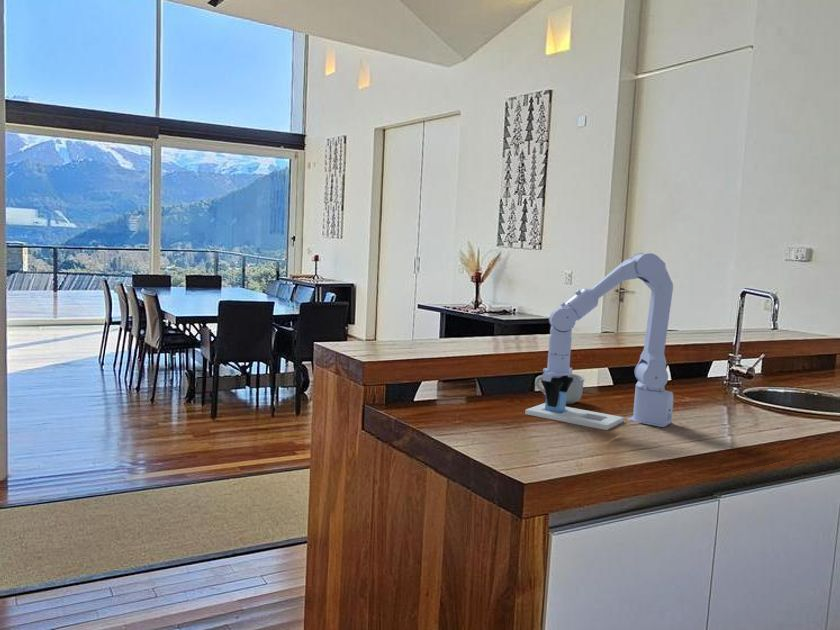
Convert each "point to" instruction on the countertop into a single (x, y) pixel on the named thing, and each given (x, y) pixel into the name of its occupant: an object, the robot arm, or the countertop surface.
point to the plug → (558, 404)
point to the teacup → (573, 390)
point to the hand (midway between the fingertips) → (555, 404)
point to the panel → (577, 417)
